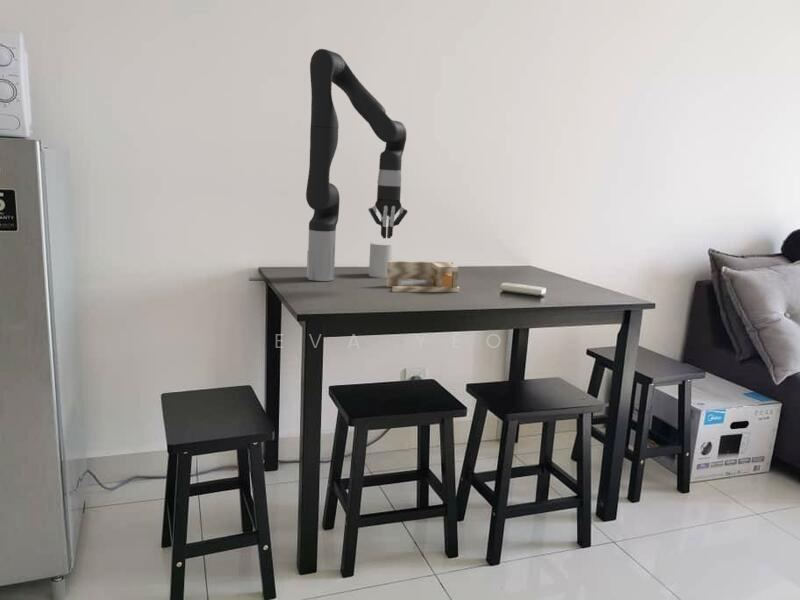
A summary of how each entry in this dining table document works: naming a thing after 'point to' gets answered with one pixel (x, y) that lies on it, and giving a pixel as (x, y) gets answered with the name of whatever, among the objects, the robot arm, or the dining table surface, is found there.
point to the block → (444, 280)
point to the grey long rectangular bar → (416, 282)
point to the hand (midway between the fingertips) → (386, 237)
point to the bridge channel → (421, 275)
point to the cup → (379, 259)
